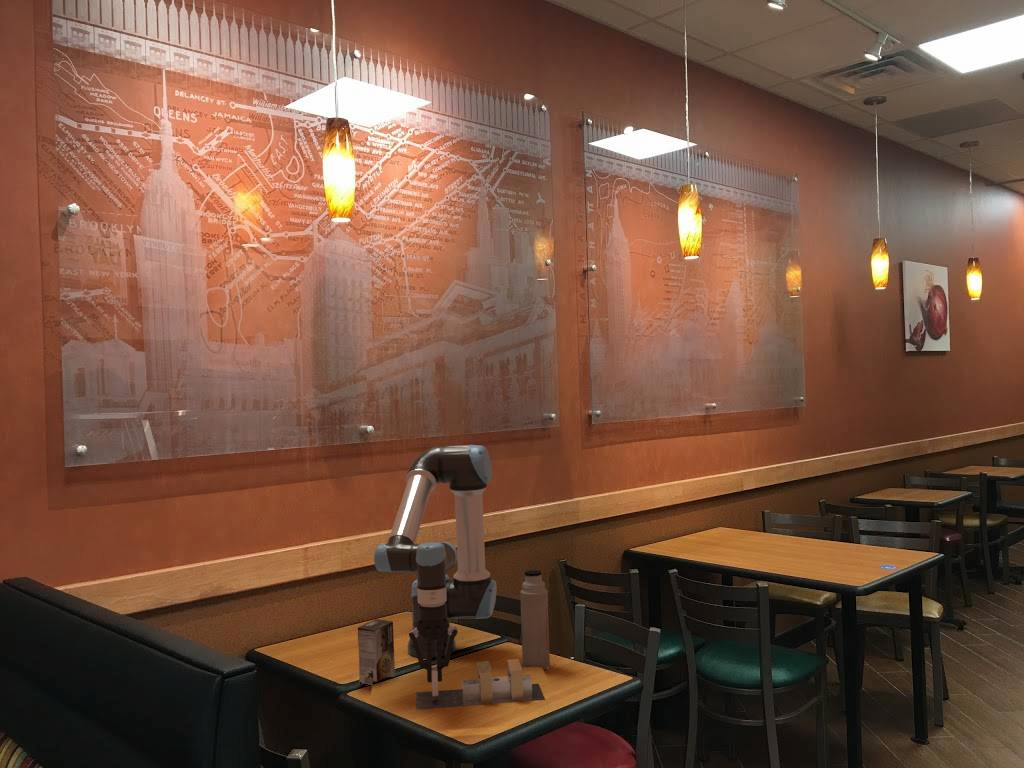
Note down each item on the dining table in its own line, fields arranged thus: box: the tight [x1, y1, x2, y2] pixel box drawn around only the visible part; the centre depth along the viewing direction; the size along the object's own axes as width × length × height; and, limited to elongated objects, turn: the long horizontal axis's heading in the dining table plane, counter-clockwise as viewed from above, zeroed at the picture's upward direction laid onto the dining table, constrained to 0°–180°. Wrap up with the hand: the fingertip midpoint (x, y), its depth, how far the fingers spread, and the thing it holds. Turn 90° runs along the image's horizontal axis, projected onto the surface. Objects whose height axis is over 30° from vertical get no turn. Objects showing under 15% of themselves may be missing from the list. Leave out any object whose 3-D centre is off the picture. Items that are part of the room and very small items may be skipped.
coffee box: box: [357, 618, 396, 686], centre depth 237 cm, size 9×6×16 cm
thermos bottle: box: [519, 569, 551, 671], centre depth 245 cm, size 8×8×28 cm
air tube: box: [461, 674, 533, 700], centre depth 219 cm, size 4×18×4 cm, turn 97°
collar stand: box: [415, 658, 546, 711], centre depth 219 cm, size 12×33×9 cm, turn 97°
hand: (435, 694), depth 217 cm, fingers closed
